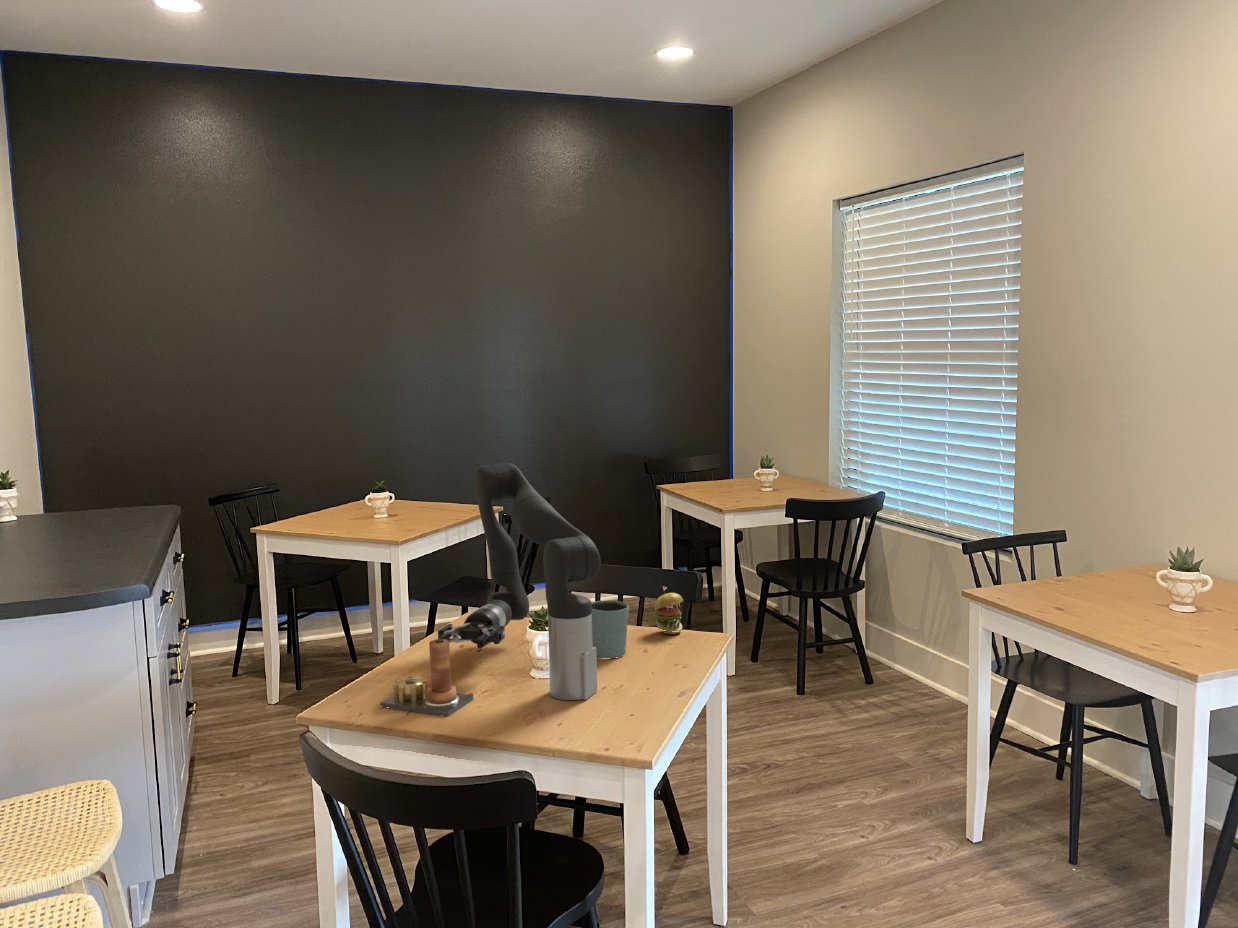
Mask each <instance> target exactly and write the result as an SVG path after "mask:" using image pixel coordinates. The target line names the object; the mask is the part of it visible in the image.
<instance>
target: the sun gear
mask: <svg viewBox="0 0 1238 928" xmlns="http://www.w3.org/2000/svg"><path fill="white" fill-rule="evenodd" d="M394 682H395V683H394V684H393V685H392V686H393V688H392V689H393V695H394V700H396V699H399V702H404V701H411V702H415V701H416V700H418V699H424V698H426V690H427V689H428V680H427V679H422V677H418V676H417V677H415V678H414V677H413V678H412V677H411V678H410V677H404V679H402V680H401V679H398V680H395V681H394Z"/></svg>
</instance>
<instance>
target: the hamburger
mask: <svg viewBox="0 0 1238 928" xmlns="http://www.w3.org/2000/svg"><path fill="white" fill-rule="evenodd" d="M662 589H663V592H664V594H662V595H660V596H659V597H658V598H657V599H656V600H655V602H654V609H655V614H656V617H655V619H656V626H657V628H658V630H660V629H662V630H666V631H661V632H662V633H664V632H666V633H665V634H667V635H672V634H673V635H677V634H676V633H678V634H679V633H681V631H682V629H683V624H682V623H681V619H682V614H683V612H681V611H680V608H681V603H683V602H684V599H683V597H682V595H680V593H679V594H678V593H676V592H668V593H665V590H666V589H668V587H667V586H664V585H662ZM674 606H676V607H674ZM672 631H679V632H672Z"/></svg>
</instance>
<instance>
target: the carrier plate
mask: <svg viewBox="0 0 1238 928" xmlns="http://www.w3.org/2000/svg"><path fill="white" fill-rule="evenodd" d="M473 700H474V695H473V694H470V693H469V694H468V693H460V692H456V700H454V701H453V702H450V703H446V704H431V703H428V702H427V695H426V698H424V699H418V700H416V701H415V702H411V701H404V702H399V699H396V700H394V694H392V695H391V696H389V697H387V698H385V699H384V700H382V701H380V702H379V705H380V706H382V707H389V708H388V709H390V708H393V709H392V710H397V709H400V710H399V711H404V710H409V711H408V712H411V711H413V712H414V713H418V712H422V713H421V714H426V713H427V715H433V714H436V715H435V716H440V715H444V716H443V717H447V716H448V715H449V716H451V715H452V714H454V713H455V712H456V711H458V710H460V709H462V708H463V707H464V706H466V705H467V704H469V703H471V702H473ZM380 706H379V707H380ZM382 707H381V708H382ZM450 714H451V715H450ZM449 716H448V717H449Z"/></svg>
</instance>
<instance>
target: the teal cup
mask: <svg viewBox="0 0 1238 928" xmlns="http://www.w3.org/2000/svg"><path fill="white" fill-rule="evenodd" d="M591 603H592V641H593V647H596V655H597V658H616V657H620V658H622V657H621V656H622V655H624V654H625V655H626V651H627V650H626V649H627V638H628V621H629V619H628V618H629V611H630V610H629V609H630V605H629V604H628V603H626V602H623V601H619V600H597V601H591ZM625 655H624V656H625ZM616 659H617V658H616Z"/></svg>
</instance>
